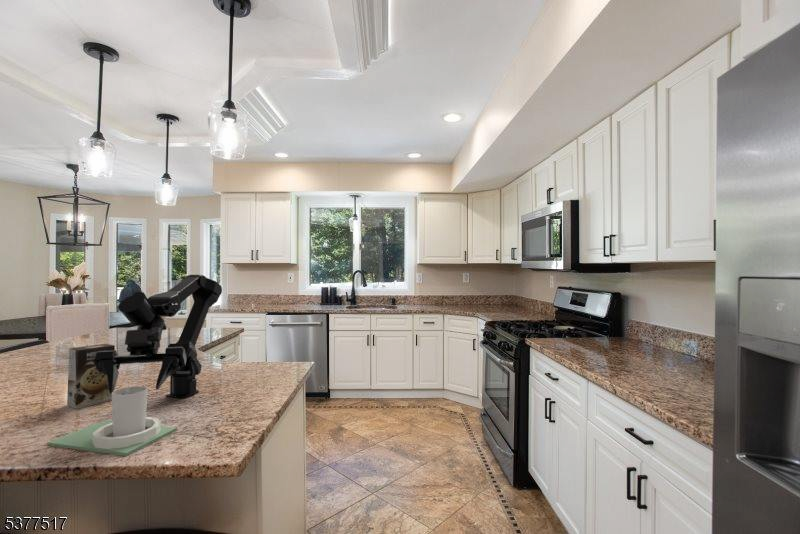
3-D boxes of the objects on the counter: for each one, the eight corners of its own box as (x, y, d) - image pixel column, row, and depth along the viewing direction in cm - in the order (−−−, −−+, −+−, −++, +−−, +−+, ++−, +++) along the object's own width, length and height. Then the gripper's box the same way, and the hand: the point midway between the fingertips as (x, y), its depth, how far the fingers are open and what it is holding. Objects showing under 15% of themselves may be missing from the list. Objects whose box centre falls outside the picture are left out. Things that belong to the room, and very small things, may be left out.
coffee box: (75, 409, 103) (76, 350, 103) (66, 405, 106) (67, 347, 107) (114, 400, 111) (115, 344, 111) (105, 396, 114) (106, 342, 114)
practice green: (47, 445, 82) (47, 433, 82) (105, 422, 94) (105, 411, 94) (126, 455, 77) (126, 443, 77) (177, 430, 90) (177, 419, 90)
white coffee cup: (128, 442, 81) (129, 395, 82) (102, 439, 83) (103, 393, 83) (154, 430, 88) (155, 386, 88) (129, 427, 89) (130, 385, 89)
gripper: (96, 317, 90) (73, 376, 80) (184, 315, 97) (174, 368, 86) (108, 344, 98) (89, 401, 87) (190, 340, 104) (181, 392, 94)
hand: (134, 390), depth 88 cm, fingers open, 9 cm apart
